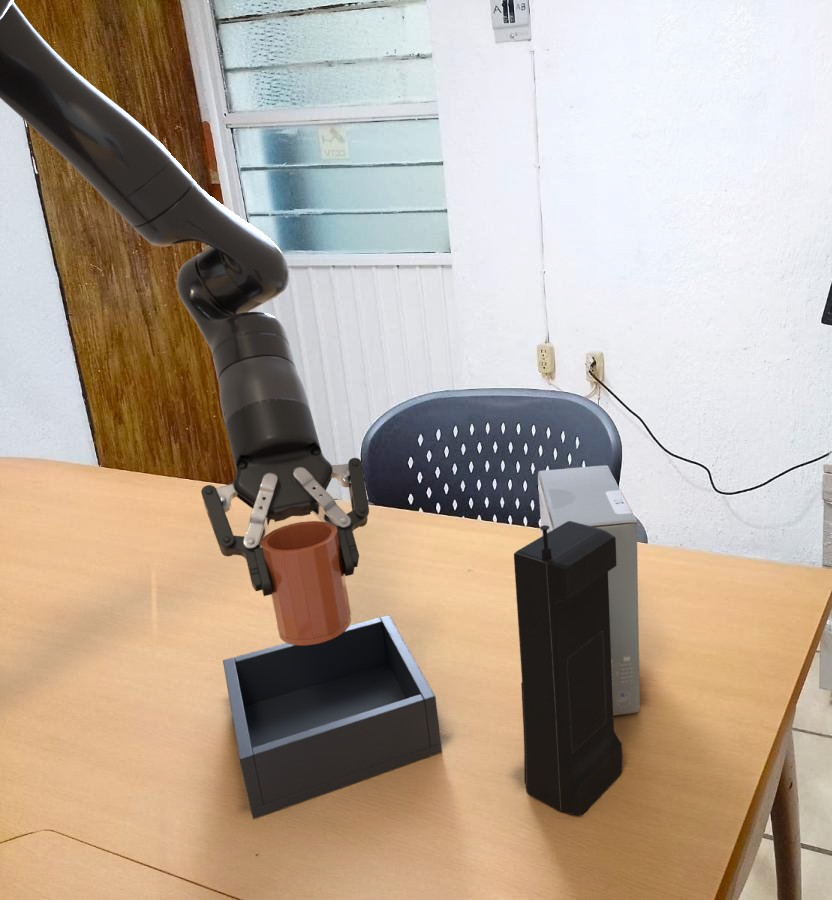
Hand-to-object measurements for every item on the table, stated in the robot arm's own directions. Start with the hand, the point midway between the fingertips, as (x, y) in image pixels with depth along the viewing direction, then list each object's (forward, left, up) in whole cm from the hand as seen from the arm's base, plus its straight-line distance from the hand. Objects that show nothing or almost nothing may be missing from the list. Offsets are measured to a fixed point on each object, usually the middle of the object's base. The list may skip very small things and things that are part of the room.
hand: (309, 581), depth 71 cm
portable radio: (+17, -16, -17) cm, 29 cm away
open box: (0, +1, -16) cm, 16 cm away
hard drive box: (+25, -3, -17) cm, 30 cm away
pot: (0, +2, -5) cm, 6 cm away
